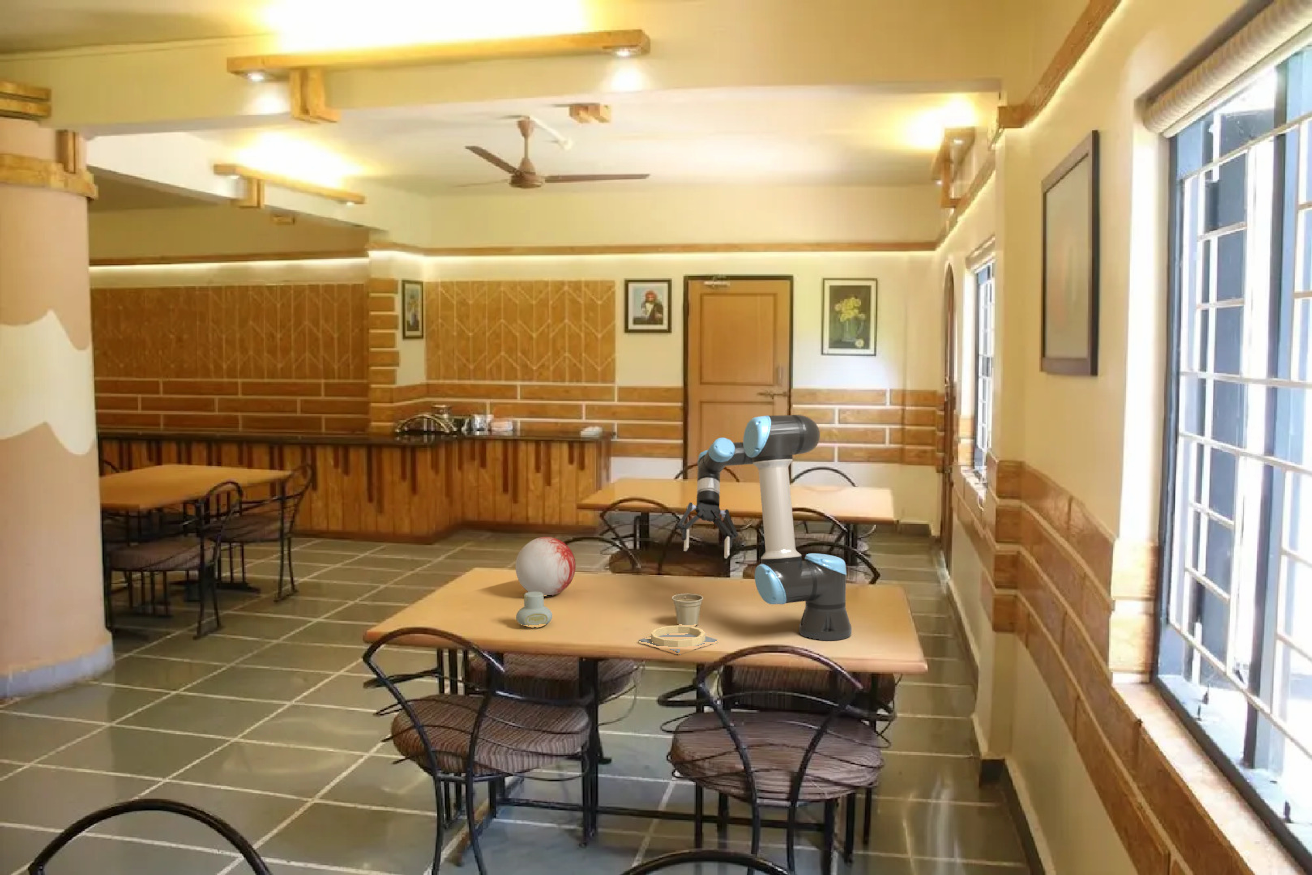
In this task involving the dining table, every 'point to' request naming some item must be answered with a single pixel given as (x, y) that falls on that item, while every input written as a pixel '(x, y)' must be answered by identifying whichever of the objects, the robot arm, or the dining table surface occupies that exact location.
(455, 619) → the dining table surface
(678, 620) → the flower pot
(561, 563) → the decorative orb
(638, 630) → the dining table surface
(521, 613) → the air freshener
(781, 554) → the robot arm
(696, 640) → the collar plate
